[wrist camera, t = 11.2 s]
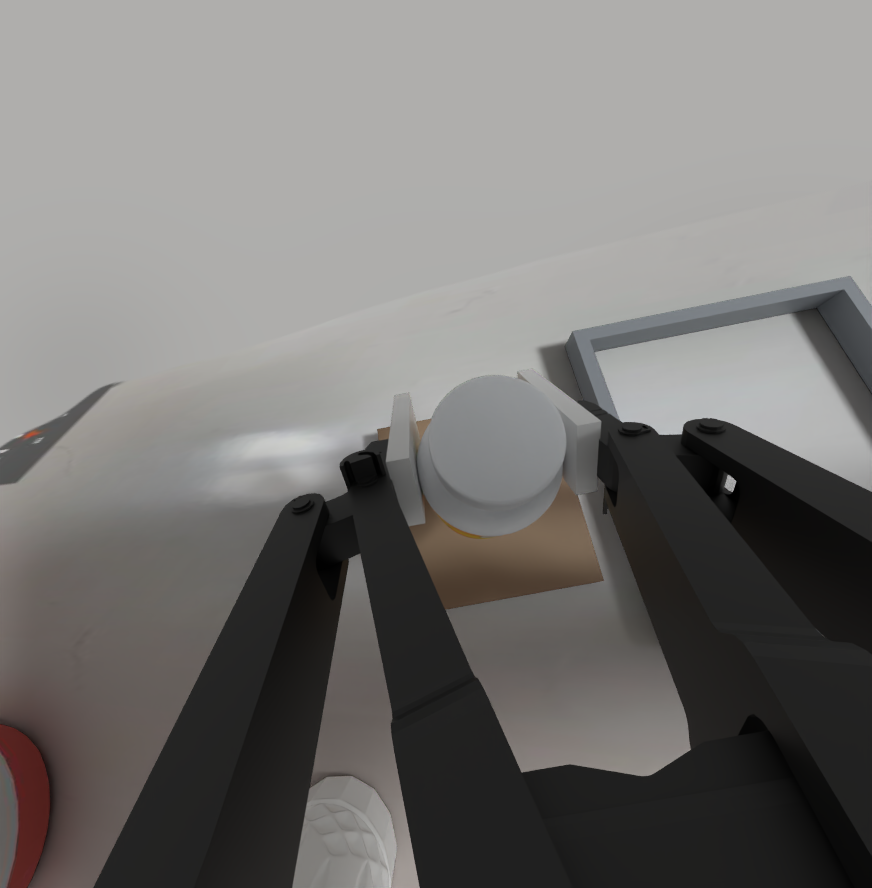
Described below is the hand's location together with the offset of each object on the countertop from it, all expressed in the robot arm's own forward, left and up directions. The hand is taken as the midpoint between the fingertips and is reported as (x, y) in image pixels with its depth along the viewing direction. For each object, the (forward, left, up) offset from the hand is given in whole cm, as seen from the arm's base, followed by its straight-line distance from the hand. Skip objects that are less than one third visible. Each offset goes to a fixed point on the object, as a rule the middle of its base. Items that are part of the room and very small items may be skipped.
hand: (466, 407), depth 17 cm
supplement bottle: (-2, +3, -4) cm, 5 cm away
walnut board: (-2, +3, -9) cm, 10 cm away
